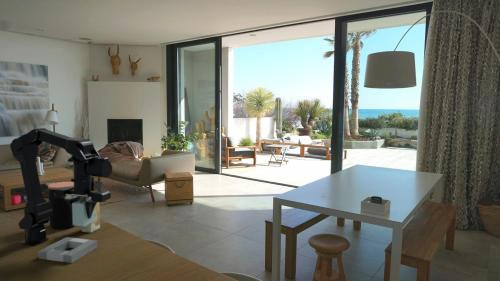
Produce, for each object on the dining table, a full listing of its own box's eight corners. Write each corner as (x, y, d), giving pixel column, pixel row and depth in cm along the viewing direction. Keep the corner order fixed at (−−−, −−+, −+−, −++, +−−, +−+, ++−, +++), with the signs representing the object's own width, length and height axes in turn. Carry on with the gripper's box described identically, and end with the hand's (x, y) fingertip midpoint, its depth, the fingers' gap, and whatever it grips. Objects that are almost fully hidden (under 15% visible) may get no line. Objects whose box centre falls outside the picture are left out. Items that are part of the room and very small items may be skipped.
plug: (72, 225, 123) (72, 198, 122) (83, 220, 128) (82, 194, 127) (84, 226, 122) (83, 200, 121) (94, 221, 127) (93, 195, 126)
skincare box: (91, 233, 141) (90, 203, 140) (81, 232, 142) (80, 202, 141) (100, 227, 147) (100, 199, 146) (91, 226, 148) (90, 198, 147)
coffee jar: (56, 221, 153) (54, 181, 151) (81, 221, 155) (80, 181, 153) (45, 230, 143) (42, 187, 141) (72, 230, 144) (70, 187, 142)
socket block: (38, 258, 118) (38, 251, 118) (66, 243, 130) (66, 237, 130) (71, 263, 115) (71, 255, 115) (97, 247, 128) (97, 240, 127)
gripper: (119, 172, 129) (119, 213, 131) (74, 168, 133) (75, 208, 134) (100, 178, 118) (101, 223, 120) (52, 174, 122) (54, 217, 124)
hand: (83, 217), depth 125 cm, fingers closed on plug, 4 cm apart
